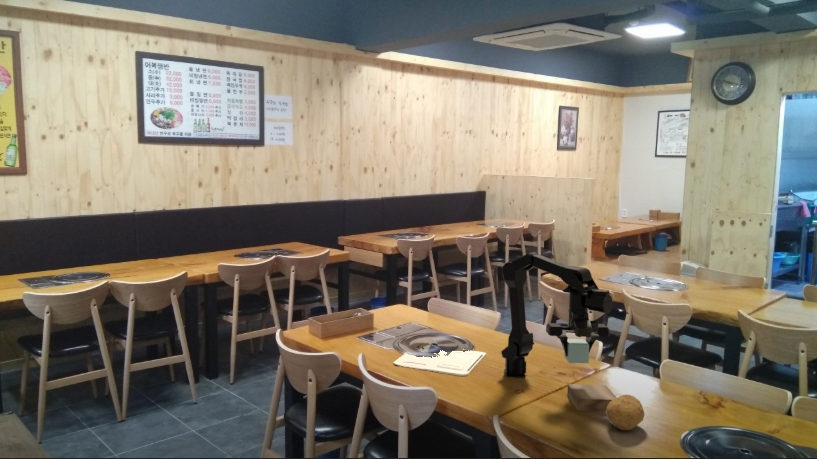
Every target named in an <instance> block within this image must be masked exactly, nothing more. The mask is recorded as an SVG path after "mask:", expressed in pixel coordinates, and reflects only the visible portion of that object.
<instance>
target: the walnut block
mask: <svg viewBox="0 0 817 459" xmlns="http://www.w3.org/2000/svg"><path fill="white" fill-rule="evenodd" d="M567 397H568V399H570V401H571V403H572V405H573V406H574V407H575V409H576V410H577V411H581V410H582V411H583V412H584V411H586V412H606V408H607V405H608V404H609V403H610V401H612V400H613V399H616V398H617V396H616V395H615V394H614V392H612V391H611V389H610V388H609V387H608V385H607V384H581V383H580V384H573V383H568V384H567Z"/></svg>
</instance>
